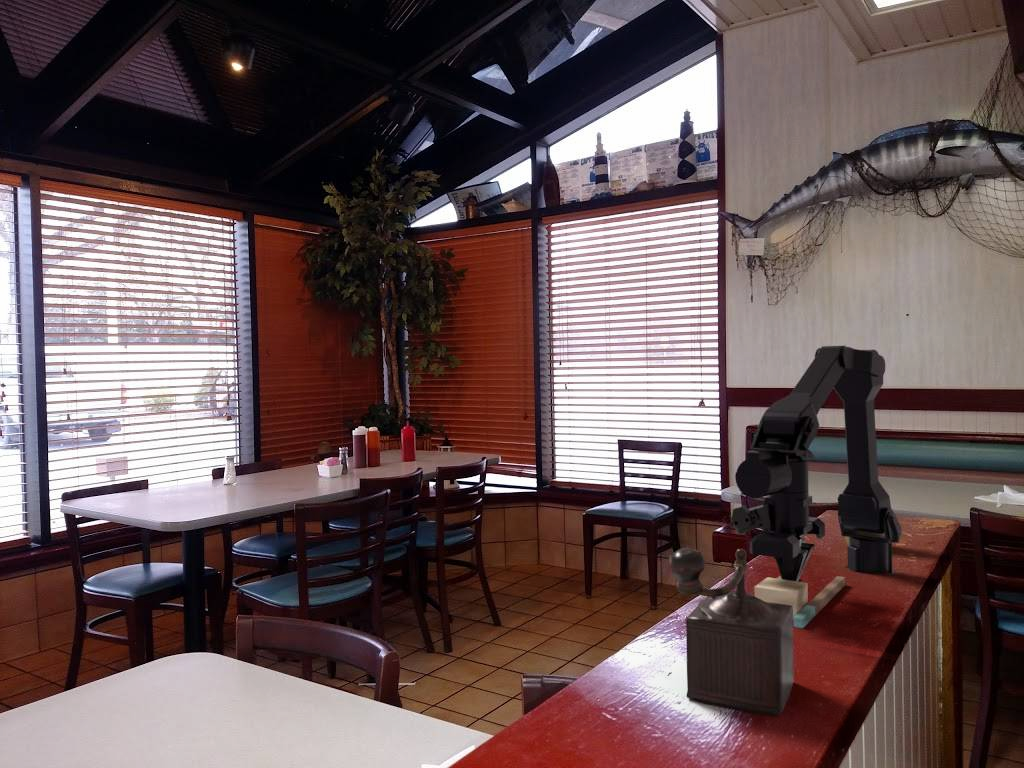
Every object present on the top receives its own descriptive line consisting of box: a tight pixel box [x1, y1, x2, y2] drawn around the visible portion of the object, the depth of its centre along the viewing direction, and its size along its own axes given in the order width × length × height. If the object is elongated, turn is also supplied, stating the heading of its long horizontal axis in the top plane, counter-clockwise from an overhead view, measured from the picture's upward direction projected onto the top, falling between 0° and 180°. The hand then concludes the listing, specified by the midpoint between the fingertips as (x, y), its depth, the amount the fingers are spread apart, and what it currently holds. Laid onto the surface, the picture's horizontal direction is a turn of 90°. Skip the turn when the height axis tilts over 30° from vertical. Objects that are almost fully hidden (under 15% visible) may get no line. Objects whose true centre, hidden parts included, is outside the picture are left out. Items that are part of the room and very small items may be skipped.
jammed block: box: [753, 577, 809, 621], centre depth 115 cm, size 6×6×4 cm
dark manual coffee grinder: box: [668, 547, 795, 717], centre depth 87 cm, size 16×11×18 cm
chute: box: [753, 575, 846, 629], centre depth 121 cm, size 25×10×2 cm, turn 144°
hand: (789, 591), depth 119 cm, fingers closed
